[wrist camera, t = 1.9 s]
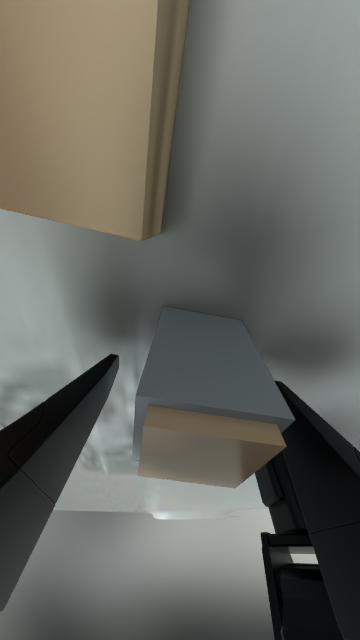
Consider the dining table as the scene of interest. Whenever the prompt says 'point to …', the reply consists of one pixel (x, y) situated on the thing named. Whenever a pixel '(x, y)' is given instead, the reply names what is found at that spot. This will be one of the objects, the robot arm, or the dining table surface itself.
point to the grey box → (206, 403)
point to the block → (89, 110)
